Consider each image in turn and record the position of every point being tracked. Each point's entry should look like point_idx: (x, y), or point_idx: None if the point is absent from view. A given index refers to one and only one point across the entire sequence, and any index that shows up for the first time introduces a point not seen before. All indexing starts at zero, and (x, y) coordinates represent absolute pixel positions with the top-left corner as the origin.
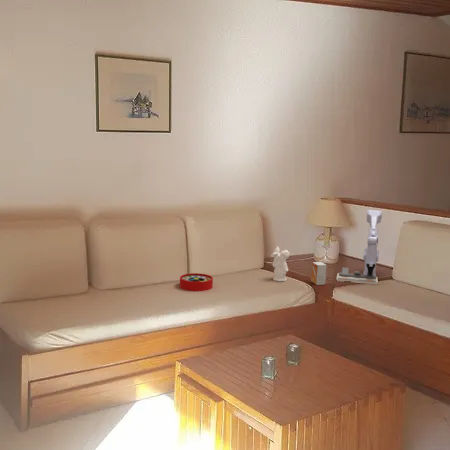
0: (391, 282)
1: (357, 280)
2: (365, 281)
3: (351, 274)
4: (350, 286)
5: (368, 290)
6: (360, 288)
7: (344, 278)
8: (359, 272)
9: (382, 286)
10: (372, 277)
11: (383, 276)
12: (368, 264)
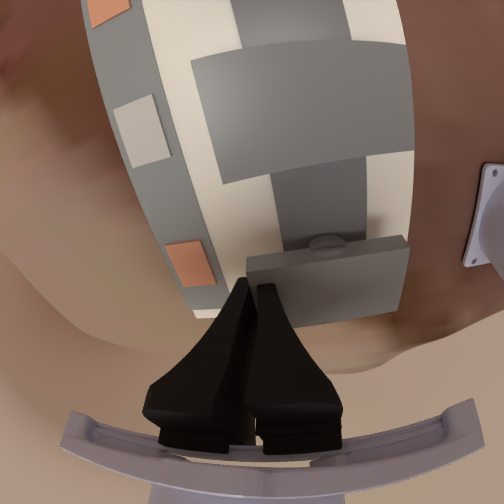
0: (321, 358)
1: (120, 146)
2: (154, 227)
3: (265, 9)
4: (15, 139)
5: (39, 263)
6: (28, 215)
7: (95, 1)
8: (218, 158)
9: (178, 327)
10: None
11: (464, 303)
12: (216, 429)
